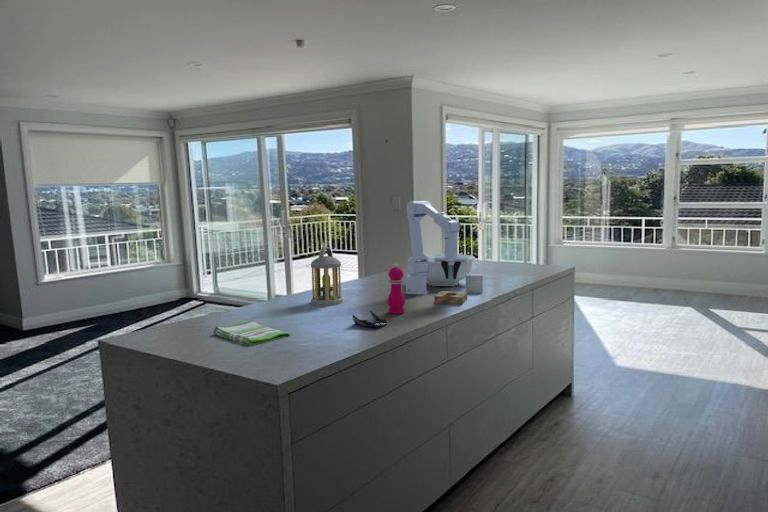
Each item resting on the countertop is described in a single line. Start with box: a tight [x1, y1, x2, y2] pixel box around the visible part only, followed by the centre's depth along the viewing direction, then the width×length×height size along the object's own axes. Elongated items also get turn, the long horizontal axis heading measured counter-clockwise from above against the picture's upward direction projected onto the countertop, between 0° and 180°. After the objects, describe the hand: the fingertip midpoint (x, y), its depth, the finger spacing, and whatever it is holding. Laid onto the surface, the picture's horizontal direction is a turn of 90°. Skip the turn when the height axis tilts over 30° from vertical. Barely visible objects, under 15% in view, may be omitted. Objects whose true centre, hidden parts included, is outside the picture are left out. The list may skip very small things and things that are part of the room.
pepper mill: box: [386, 263, 406, 315], centre depth 223 cm, size 7×7×20 cm
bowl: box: [416, 253, 476, 287], centre depth 286 cm, size 32×32×15 cm
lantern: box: [310, 246, 344, 307], centre depth 245 cm, size 14×14×25 cm
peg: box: [448, 265, 456, 287], centre depth 243 cm, size 3×3×9 cm
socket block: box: [434, 290, 468, 306], centre depth 243 cm, size 12×12×4 cm
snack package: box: [352, 310, 388, 329], centre depth 203 cm, size 12×6×12 cm
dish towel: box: [212, 320, 291, 347], centre depth 193 cm, size 17×23×4 cm
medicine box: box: [465, 273, 484, 294], centre depth 263 cm, size 8×4×9 cm, turn 84°
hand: (451, 278), depth 243 cm, fingers closed on peg, 3 cm apart
